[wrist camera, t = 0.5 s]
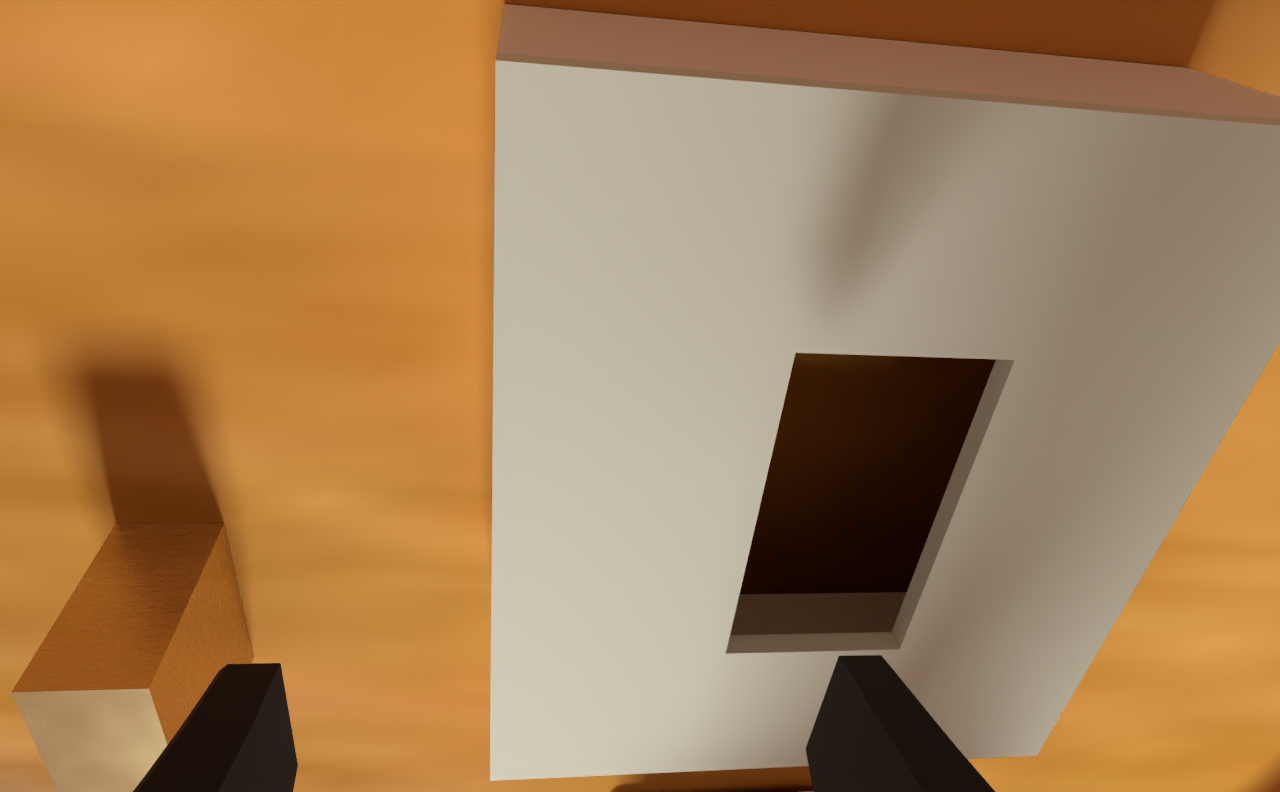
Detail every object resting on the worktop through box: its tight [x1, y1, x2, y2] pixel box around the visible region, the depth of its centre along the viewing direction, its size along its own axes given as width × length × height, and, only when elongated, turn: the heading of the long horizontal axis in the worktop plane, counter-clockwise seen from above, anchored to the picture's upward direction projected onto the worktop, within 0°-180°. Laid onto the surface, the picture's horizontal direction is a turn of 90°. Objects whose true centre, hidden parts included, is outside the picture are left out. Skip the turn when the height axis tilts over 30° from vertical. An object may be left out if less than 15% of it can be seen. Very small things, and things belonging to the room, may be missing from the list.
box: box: [490, 4, 1280, 781], centre depth 18 cm, size 16×14×5 cm
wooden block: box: [11, 523, 254, 792], centre depth 20 cm, size 5×2×5 cm, turn 174°
